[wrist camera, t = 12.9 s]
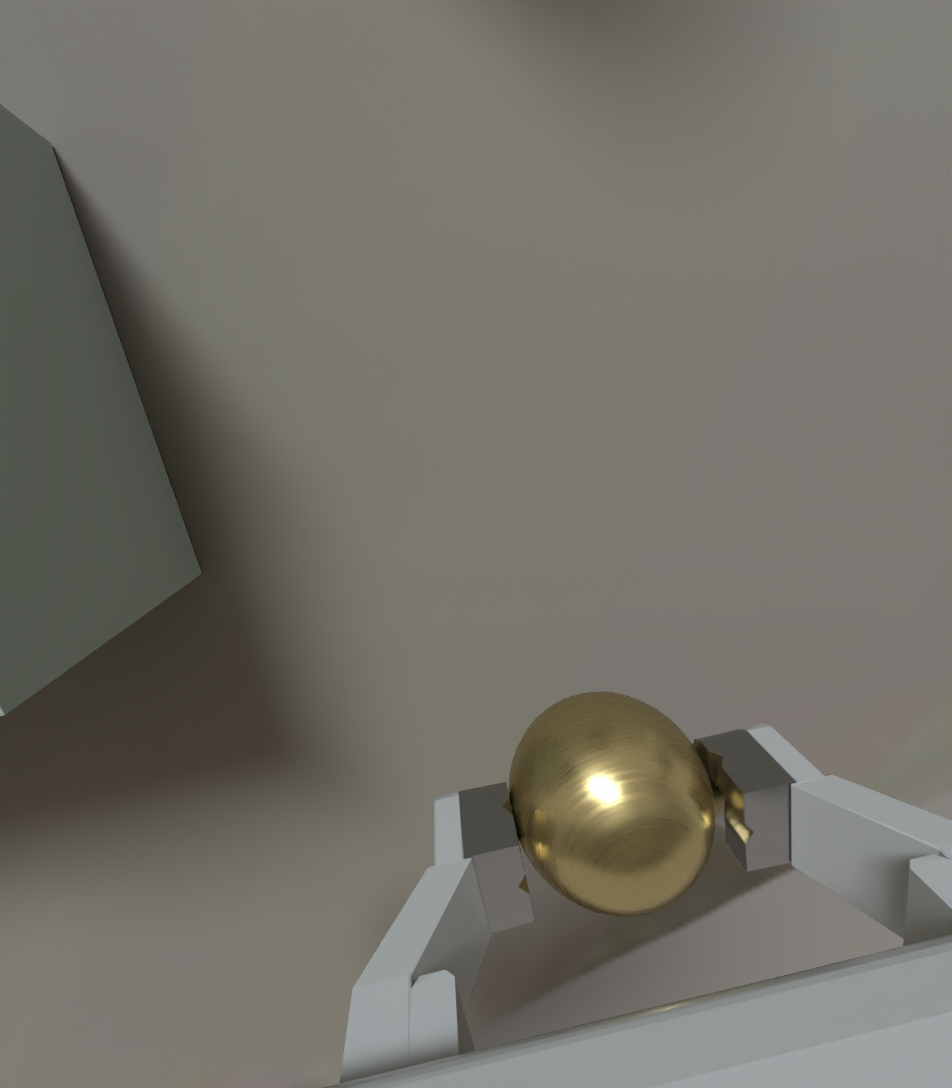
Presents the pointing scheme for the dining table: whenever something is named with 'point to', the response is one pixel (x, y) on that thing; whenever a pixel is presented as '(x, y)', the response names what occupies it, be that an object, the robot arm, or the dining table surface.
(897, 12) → the dining table surface
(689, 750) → the bead
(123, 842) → the dining table surface
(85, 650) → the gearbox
